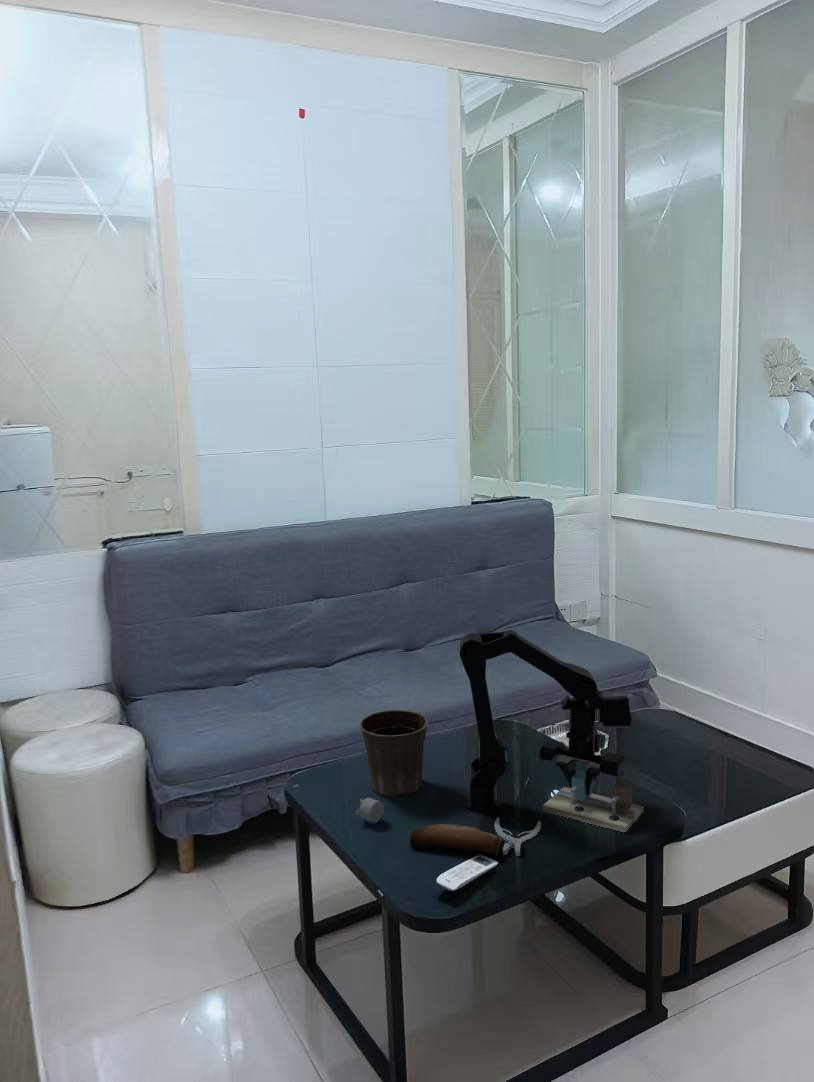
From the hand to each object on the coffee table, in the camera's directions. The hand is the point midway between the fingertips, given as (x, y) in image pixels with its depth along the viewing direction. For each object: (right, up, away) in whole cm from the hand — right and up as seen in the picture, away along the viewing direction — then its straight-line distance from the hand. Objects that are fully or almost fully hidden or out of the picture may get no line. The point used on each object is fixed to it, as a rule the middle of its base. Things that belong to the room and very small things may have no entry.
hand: (581, 793), depth 192 cm
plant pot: (-42, -3, +13) cm, 44 cm away
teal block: (-1, -1, -1) cm, 2 cm away
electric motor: (-47, -5, -3) cm, 48 cm away
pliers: (-16, -6, -13) cm, 22 cm away
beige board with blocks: (+2, -3, -3) cm, 5 cm away
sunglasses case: (-29, -6, -14) cm, 33 cm away
